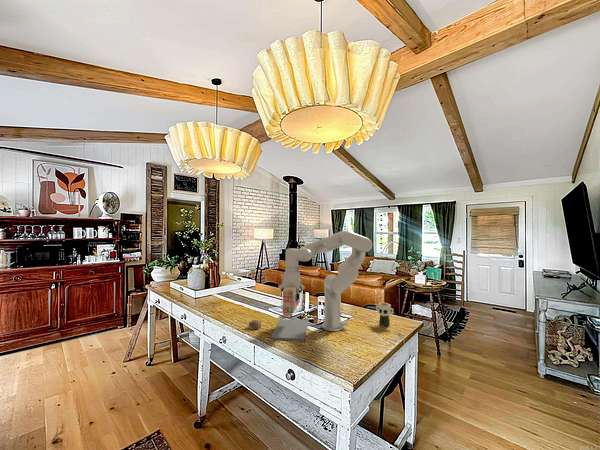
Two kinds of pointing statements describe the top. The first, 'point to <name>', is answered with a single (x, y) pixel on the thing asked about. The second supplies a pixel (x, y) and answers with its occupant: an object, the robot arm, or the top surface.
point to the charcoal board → (291, 330)
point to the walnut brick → (254, 324)
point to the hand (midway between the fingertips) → (291, 299)
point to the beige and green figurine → (384, 313)
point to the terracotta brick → (287, 314)
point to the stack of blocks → (290, 299)
